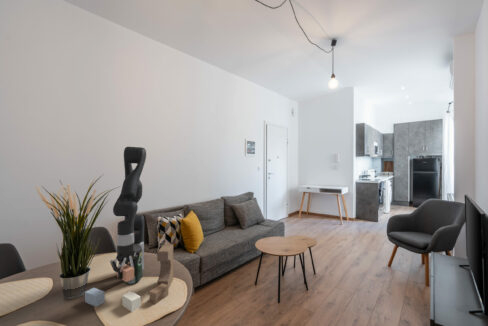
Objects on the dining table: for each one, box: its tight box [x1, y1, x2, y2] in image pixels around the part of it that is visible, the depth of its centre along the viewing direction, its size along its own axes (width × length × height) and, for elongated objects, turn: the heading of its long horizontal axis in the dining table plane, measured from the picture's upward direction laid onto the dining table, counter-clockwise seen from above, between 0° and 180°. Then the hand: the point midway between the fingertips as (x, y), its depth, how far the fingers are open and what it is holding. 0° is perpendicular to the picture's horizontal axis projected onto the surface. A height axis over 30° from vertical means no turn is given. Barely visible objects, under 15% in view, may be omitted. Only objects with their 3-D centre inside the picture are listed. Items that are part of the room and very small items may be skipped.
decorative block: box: [156, 243, 174, 290], centre depth 122 cm, size 11×6×20 cm, turn 2°
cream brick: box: [121, 290, 142, 313], centre depth 104 cm, size 8×4×5 cm, turn 56°
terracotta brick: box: [116, 264, 134, 283], centre depth 112 cm, size 8×4×5 cm, turn 57°
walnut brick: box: [149, 283, 169, 305], centre depth 110 cm, size 8×4×5 cm, turn 154°
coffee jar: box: [124, 245, 143, 285], centre depth 126 cm, size 10×8×19 cm
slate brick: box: [84, 287, 106, 307], centre depth 107 cm, size 8×4×5 cm, turn 66°
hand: (125, 276), depth 112 cm, fingers closed on terracotta brick, 4 cm apart
